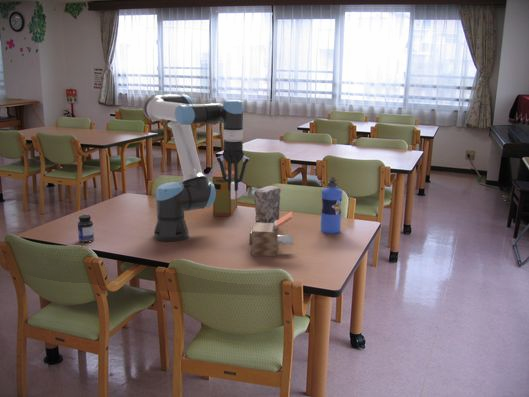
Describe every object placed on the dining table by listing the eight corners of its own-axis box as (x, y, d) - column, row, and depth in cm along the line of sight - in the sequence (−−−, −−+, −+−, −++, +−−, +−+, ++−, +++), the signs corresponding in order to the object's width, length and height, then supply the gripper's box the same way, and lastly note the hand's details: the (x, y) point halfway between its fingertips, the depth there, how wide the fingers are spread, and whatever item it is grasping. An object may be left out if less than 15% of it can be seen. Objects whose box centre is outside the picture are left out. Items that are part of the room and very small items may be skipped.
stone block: (267, 235, 239) (267, 191, 234) (253, 233, 242) (253, 189, 237) (280, 227, 250) (281, 186, 245) (267, 225, 253) (267, 184, 248)
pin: (249, 247, 217) (249, 233, 215) (251, 243, 222) (251, 229, 221) (291, 249, 215) (292, 235, 214) (292, 244, 221) (292, 230, 219)
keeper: (274, 231, 212) (271, 227, 212) (275, 224, 221) (273, 221, 221) (292, 219, 210) (290, 216, 210) (293, 213, 219) (291, 210, 219)
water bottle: (316, 231, 246) (317, 177, 239) (328, 226, 252) (330, 174, 246) (332, 235, 239) (334, 180, 233) (344, 230, 246) (347, 177, 240)
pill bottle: (78, 239, 231) (76, 215, 229) (93, 237, 234) (91, 213, 231) (79, 243, 226) (77, 218, 223) (94, 242, 228) (93, 217, 225)
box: (220, 206, 286) (219, 170, 281) (237, 207, 284) (236, 170, 280) (213, 215, 270) (212, 176, 265) (230, 216, 268) (230, 177, 263)
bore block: (251, 255, 214) (251, 231, 212) (254, 245, 226) (254, 222, 223) (276, 256, 213) (276, 232, 211) (278, 246, 225) (278, 223, 222)
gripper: (214, 141, 206) (215, 200, 213) (248, 142, 205) (247, 201, 211) (218, 138, 214) (218, 195, 220) (250, 139, 213) (250, 196, 219)
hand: (233, 198), depth 216 cm, fingers closed
